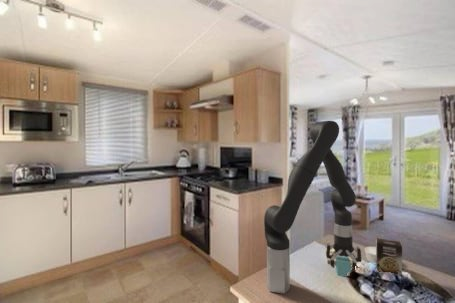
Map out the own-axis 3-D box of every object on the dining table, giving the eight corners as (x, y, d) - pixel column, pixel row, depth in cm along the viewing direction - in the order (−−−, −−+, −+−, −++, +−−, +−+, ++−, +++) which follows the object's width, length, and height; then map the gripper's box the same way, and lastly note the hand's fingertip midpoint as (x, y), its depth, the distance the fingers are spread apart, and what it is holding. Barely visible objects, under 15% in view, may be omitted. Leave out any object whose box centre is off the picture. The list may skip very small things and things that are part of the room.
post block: (354, 267, 113) (354, 249, 113) (327, 263, 117) (327, 246, 117) (349, 252, 128) (349, 237, 128) (325, 249, 132) (325, 234, 132)
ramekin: (359, 258, 122) (359, 248, 122) (374, 254, 126) (374, 244, 126) (381, 269, 112) (382, 258, 111) (396, 263, 116) (396, 253, 116)
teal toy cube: (350, 277, 105) (350, 262, 105) (337, 275, 107) (337, 260, 107) (348, 270, 110) (348, 256, 110) (335, 269, 112) (335, 255, 112)
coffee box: (376, 279, 103) (376, 242, 103) (375, 272, 109) (375, 237, 108) (402, 284, 99) (402, 246, 98) (399, 277, 105) (399, 240, 104)
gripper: (326, 234, 107) (327, 270, 107) (362, 238, 102) (362, 275, 103) (325, 229, 114) (325, 262, 114) (359, 232, 109) (359, 266, 110)
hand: (343, 268), depth 109 cm, fingers open, 8 cm apart
